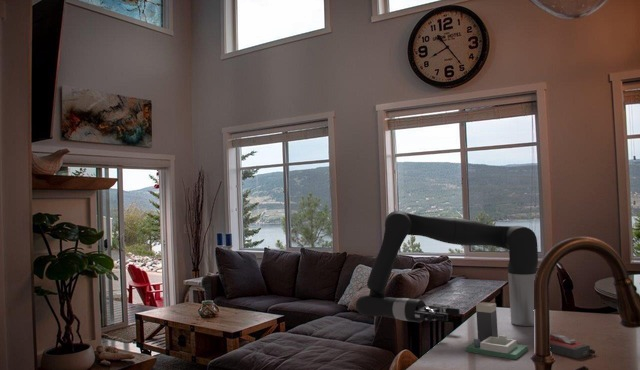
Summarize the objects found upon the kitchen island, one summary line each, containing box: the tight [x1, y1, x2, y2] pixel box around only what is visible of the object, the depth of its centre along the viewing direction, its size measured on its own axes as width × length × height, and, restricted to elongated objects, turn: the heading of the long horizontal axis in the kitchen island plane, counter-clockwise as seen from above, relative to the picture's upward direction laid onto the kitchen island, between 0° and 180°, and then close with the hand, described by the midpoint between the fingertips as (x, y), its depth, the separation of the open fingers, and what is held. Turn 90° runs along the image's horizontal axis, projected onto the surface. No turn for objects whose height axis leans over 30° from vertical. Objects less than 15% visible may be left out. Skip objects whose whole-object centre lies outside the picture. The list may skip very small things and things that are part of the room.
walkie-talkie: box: [549, 333, 596, 359], centre depth 140 cm, size 9×4×20 cm
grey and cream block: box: [475, 301, 499, 339], centre depth 151 cm, size 4×4×11 cm
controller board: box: [465, 334, 529, 360], centre depth 140 cm, size 10×14×4 cm
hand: (453, 314), depth 158 cm, fingers open, 8 cm apart
